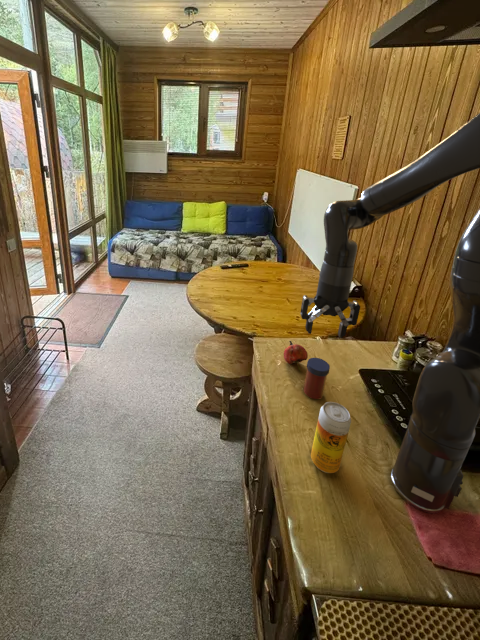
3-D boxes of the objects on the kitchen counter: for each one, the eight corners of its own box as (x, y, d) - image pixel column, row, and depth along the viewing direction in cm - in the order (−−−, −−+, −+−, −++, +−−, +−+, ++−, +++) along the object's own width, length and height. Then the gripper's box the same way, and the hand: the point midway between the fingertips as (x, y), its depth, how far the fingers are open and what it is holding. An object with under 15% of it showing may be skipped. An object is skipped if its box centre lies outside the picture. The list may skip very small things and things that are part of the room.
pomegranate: (308, 373, 101) (301, 343, 106) (314, 368, 95) (306, 336, 100) (285, 374, 101) (279, 344, 107) (290, 369, 95) (283, 338, 100)
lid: (326, 364, 90) (327, 359, 89) (330, 378, 84) (332, 372, 84) (305, 361, 91) (306, 356, 90) (308, 374, 85) (309, 369, 85)
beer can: (313, 473, 68) (325, 421, 62) (307, 448, 73) (317, 398, 68) (342, 477, 67) (356, 425, 62) (334, 451, 72) (346, 402, 67)
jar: (321, 387, 92) (326, 360, 89) (324, 400, 87) (330, 373, 84) (302, 384, 93) (307, 357, 90) (304, 397, 88) (309, 370, 85)
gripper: (308, 282, 76) (298, 338, 81) (370, 288, 73) (356, 346, 79) (303, 270, 83) (295, 323, 88) (361, 276, 80) (348, 330, 86)
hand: (324, 334), depth 83 cm, fingers open, 7 cm apart
